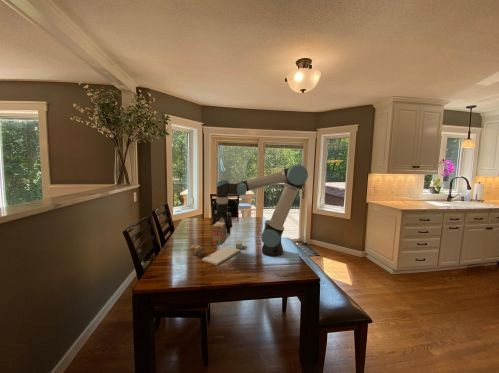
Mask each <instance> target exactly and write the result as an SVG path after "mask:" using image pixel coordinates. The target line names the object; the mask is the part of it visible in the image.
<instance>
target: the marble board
mask: <svg viewBox="0 0 499 373" xmlns="http://www.w3.org/2000/svg"><path fill="white" fill-rule="evenodd" d="M240 252H241V249H236V247H231V246H225V247H223V248H220V249H219V250H217V251H215V252H212V253H211V254H209V255H207V256H205V257H202V258H201V261H203V262H205V263H209V264H210V265H211V264H212V265H215V266H218V265H220V264H221V263H223V262H224V261H226V260H228V259H230V258H232V257H233V256H236V255H237V254H239V253H240Z"/></svg>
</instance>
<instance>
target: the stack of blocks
mask: <svg viewBox="0 0 499 373" xmlns="http://www.w3.org/2000/svg"><path fill="white" fill-rule="evenodd" d="M231 229H232V228H230V230H231ZM225 236H226V224H225V222H224V220H219V221H218V222H216V223H215V224H214V225H212V245H217V246H222V245H223V244H224V243H225V242H226V240H227V239H226V238H225ZM230 236H231V232H230V233H229V237H230Z"/></svg>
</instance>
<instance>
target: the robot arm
mask: <svg viewBox="0 0 499 373" xmlns="http://www.w3.org/2000/svg"><path fill="white" fill-rule="evenodd" d="M308 177H309V172H308V169H307V168H306V167H305V166H303V165H302V164H299V163H297V164H294V165H291V166H289V167H288V168H284V169H283V170H282V171H277V172H274V173H270V174H266V175H263V176H257V177H254V178H250V179H245V180H240V181H239V182H236V183H235V182H229V180H228V179H217V180H216V186H215V188H216V200H215V202H216V210H213V211H212V213H213V215H212V222H211V225H212V226H213V225H214V224H215V223H216V222H218V221H221V218H222V219H223V221H224V222H225V224H226V236H225V238H226V240H227V239H228V238H230V236H229V233H230V234H231V229H232V228H233V220H232V212H229V211H228V210H229V209H228V208H229V195H233V196H234V195H235V196H245V195H247V192H249V191H254V190H257V189H261V188H265V187H272V186H275V185H278V184H282V183H283V184H284V187H283V189H282V192H281V194H280V196H279V199H278V202H277V204H276V206H275V209H274V211H273V213H272V216H271V218H270V219H266V220H265V221H264V228H263V231H262V232H261V235H260V236H261V242H262V243H263V245H262V247H261V253H262V254H263V255H264V256H267V257H281V256H282V255H284V247H283V244H282V236H283V233H284V231H285V228H284V227H285V226H284V225H285V222H286V220H287V218H288V216H289V213H290V210H291V208H292V206H293V203H294V201H295V200H296V197H297V195H298V192H299V191H301V190H303V188H304V185H305V182H307V180H308ZM230 228H231V229H230Z"/></svg>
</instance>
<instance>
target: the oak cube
mask: <svg viewBox="0 0 499 373" xmlns="http://www.w3.org/2000/svg"><path fill="white" fill-rule="evenodd" d="M198 247H201V245H198V244H192V245H191V246H190V247H189V255H192V256H197V255H198Z"/></svg>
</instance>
